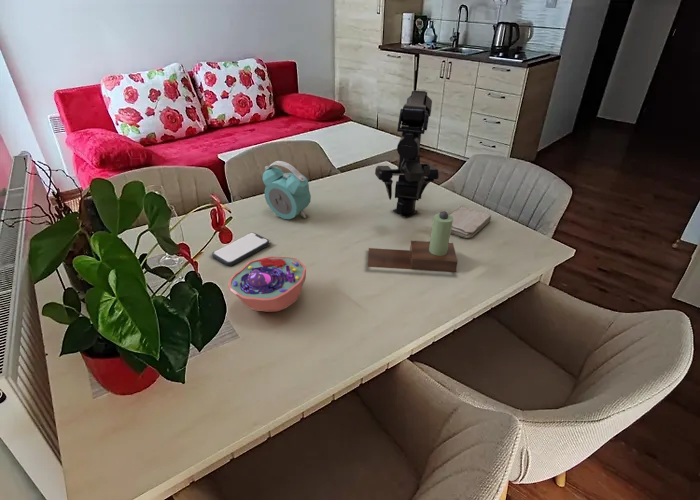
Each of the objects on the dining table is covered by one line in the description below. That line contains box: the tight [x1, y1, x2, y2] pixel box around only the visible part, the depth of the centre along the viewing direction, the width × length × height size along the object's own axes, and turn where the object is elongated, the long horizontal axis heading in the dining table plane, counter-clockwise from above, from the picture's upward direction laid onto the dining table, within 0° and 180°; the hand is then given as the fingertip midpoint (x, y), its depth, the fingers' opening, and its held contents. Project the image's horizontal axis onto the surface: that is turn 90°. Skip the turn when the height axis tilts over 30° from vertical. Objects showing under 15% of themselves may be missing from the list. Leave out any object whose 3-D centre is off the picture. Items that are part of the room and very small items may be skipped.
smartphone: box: [212, 232, 270, 267], centre depth 131 cm, size 9×2×16 cm
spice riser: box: [367, 240, 459, 273], centre depth 127 cm, size 10×25×5 cm, turn 86°
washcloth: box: [449, 206, 492, 239], centre depth 148 cm, size 12×18×3 cm, turn 142°
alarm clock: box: [262, 160, 312, 220], centre depth 146 cm, size 17×10×20 cm, turn 58°
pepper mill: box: [429, 210, 453, 256], centre depth 121 cm, size 5×5×13 cm
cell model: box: [228, 256, 307, 313], centre depth 109 cm, size 17×20×11 cm
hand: (404, 198), depth 136 cm, fingers open, 9 cm apart
